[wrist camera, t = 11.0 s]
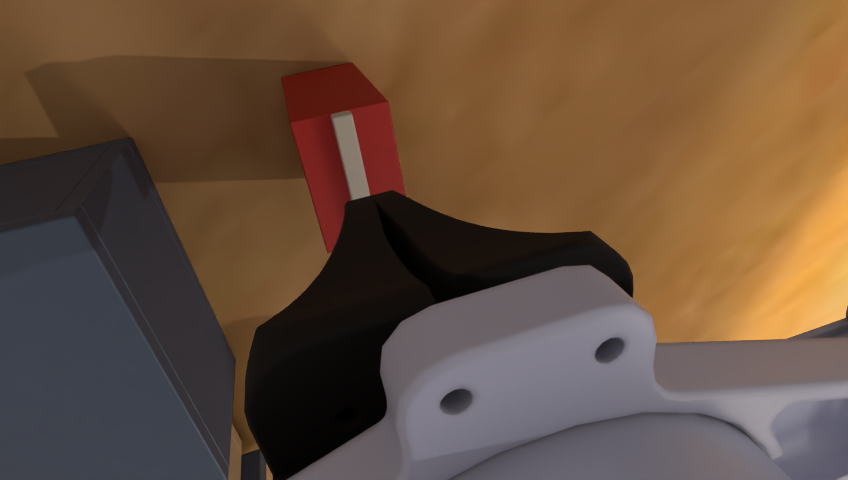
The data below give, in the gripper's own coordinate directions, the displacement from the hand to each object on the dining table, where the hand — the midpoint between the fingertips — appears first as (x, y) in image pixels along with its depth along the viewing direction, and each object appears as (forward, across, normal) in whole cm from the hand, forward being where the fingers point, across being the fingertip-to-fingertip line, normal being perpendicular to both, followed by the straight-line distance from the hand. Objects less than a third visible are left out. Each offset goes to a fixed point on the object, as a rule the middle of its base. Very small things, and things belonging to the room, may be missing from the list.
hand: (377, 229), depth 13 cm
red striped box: (+10, 0, 0) cm, 10 cm away
